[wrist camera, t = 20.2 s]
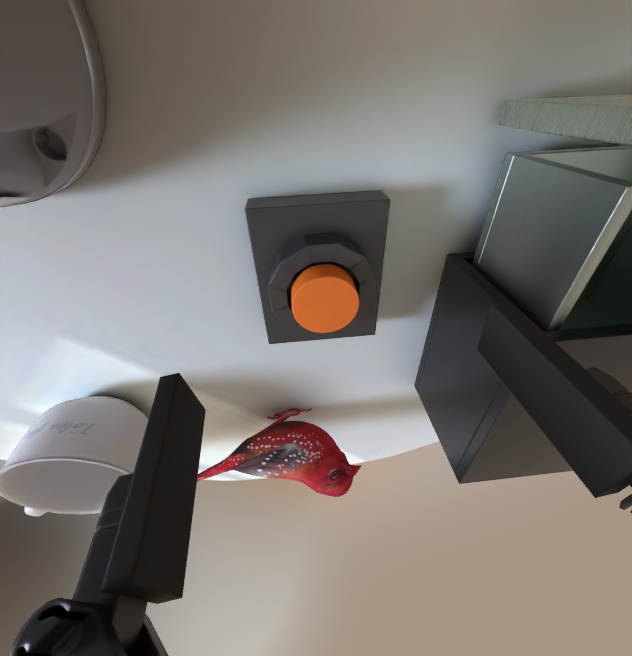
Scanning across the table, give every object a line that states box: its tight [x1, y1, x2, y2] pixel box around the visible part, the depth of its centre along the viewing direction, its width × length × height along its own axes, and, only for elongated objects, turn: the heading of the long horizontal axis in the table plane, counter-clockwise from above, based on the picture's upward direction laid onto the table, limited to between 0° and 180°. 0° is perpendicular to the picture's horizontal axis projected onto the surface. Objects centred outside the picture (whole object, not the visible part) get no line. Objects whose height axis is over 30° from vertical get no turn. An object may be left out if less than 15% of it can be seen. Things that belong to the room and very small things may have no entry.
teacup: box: [0, 396, 148, 516], centre depth 29 cm, size 14×11×8 cm
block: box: [245, 190, 390, 344], centre depth 22 cm, size 11×9×4 cm
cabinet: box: [415, 252, 632, 484], centre depth 25 cm, size 16×14×11 cm
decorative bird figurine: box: [197, 409, 361, 497], centre depth 31 cm, size 3×18×10 cm, turn 102°
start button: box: [291, 264, 359, 333], centre depth 20 cm, size 4×4×2 cm
